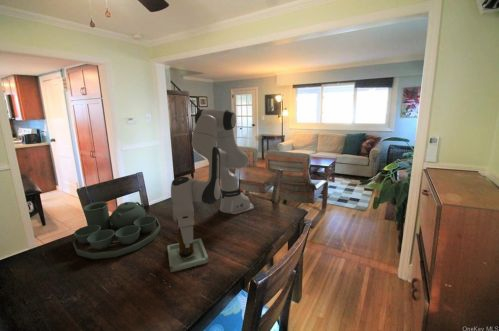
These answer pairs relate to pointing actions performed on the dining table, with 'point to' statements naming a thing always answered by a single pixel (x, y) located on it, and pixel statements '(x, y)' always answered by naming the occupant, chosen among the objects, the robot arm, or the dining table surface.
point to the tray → (179, 263)
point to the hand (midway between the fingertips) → (186, 242)
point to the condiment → (183, 250)
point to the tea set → (114, 230)
